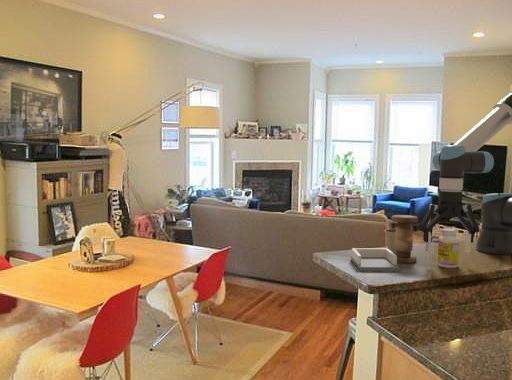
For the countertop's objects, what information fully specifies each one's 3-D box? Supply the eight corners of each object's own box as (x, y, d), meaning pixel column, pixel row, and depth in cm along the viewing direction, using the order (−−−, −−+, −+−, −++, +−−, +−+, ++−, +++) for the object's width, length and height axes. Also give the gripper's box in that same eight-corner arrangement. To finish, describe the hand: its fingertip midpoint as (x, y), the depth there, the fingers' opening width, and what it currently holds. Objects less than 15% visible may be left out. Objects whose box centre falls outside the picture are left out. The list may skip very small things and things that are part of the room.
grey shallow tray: (386, 260, 176) (387, 248, 175) (399, 271, 160) (399, 258, 159) (351, 260, 176) (351, 247, 175) (360, 271, 160) (360, 258, 159)
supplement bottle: (433, 264, 169) (434, 228, 168) (447, 263, 172) (448, 227, 171) (448, 269, 163) (449, 231, 162) (462, 267, 166) (464, 230, 165)
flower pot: (381, 253, 186) (381, 231, 186) (386, 249, 195) (387, 227, 194) (406, 256, 182) (406, 233, 181) (410, 251, 190) (411, 229, 190)
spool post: (411, 257, 180) (413, 215, 179) (419, 263, 171) (421, 218, 170) (387, 257, 180) (388, 214, 179) (394, 263, 171) (395, 218, 170)
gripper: (482, 190, 169) (478, 249, 171) (410, 189, 169) (408, 248, 171) (492, 192, 161) (488, 254, 163) (417, 190, 161) (415, 253, 163)
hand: (447, 251), depth 167 cm, fingers open, 13 cm apart
